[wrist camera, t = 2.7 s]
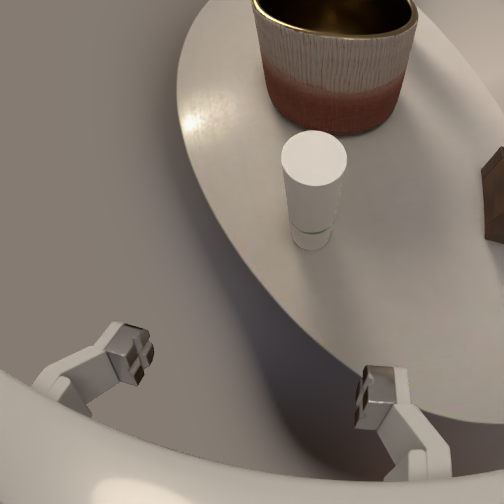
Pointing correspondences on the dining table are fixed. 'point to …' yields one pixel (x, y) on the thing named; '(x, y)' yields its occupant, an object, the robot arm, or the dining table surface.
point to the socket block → (494, 196)
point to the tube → (313, 185)
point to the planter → (335, 59)
